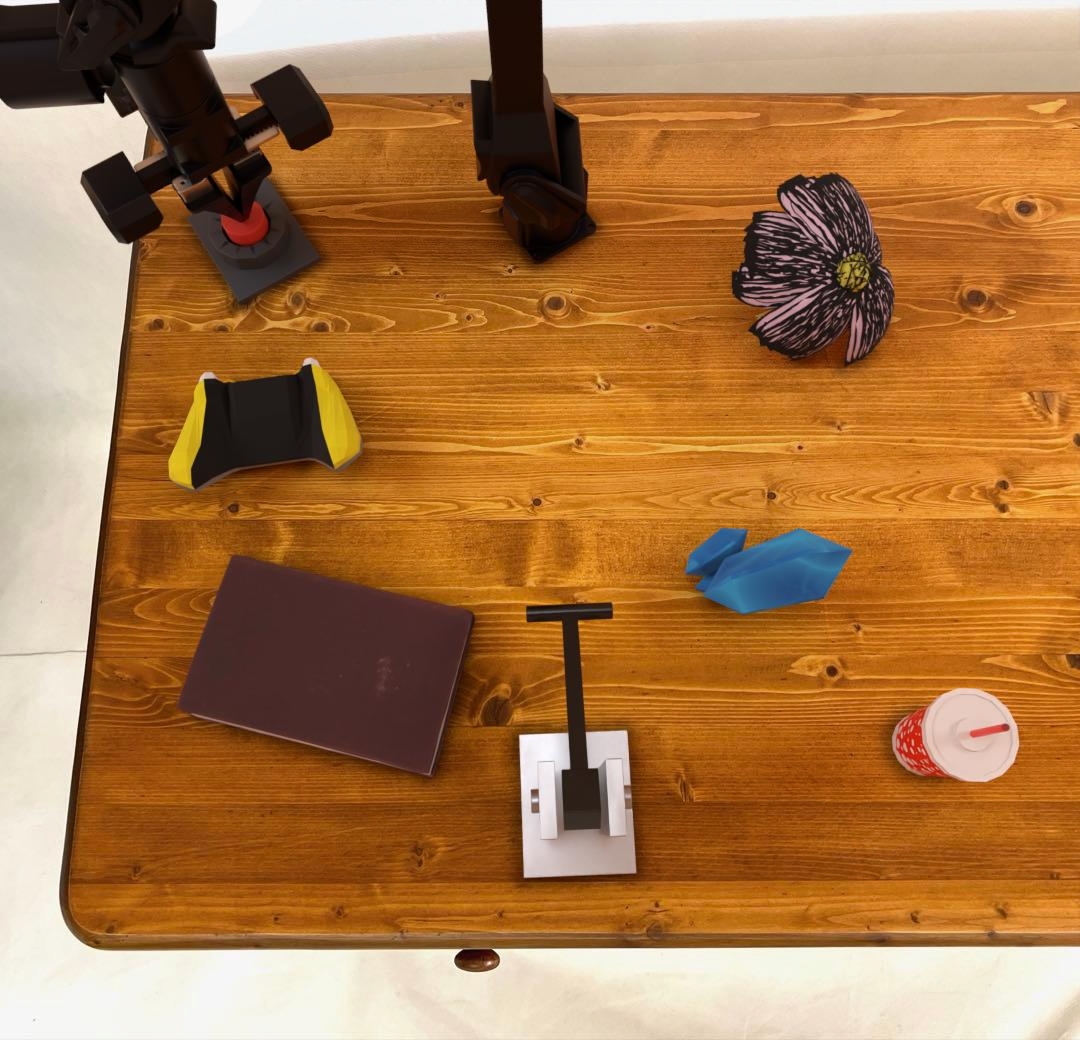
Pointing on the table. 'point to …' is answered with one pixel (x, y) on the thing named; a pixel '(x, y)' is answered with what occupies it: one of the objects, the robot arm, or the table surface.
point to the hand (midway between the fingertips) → (242, 216)
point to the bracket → (543, 808)
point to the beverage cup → (958, 737)
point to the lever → (575, 713)
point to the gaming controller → (264, 426)
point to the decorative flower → (816, 271)
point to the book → (329, 664)
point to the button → (247, 227)
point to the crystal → (766, 569)
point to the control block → (257, 248)
